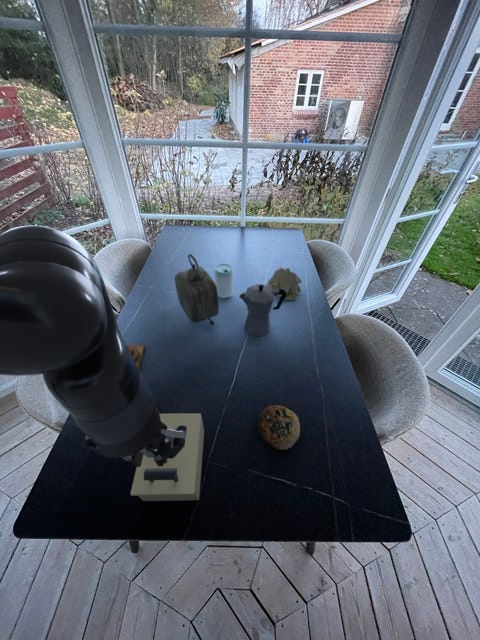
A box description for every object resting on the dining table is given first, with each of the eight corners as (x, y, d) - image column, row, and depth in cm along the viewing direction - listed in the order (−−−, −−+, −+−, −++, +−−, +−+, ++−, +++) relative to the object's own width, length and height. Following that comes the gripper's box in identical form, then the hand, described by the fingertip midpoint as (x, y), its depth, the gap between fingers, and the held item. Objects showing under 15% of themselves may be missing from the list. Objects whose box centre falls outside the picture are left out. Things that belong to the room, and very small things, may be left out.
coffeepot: (241, 339, 88) (242, 298, 75) (235, 319, 94) (236, 278, 81) (285, 333, 90) (294, 292, 77) (277, 314, 96) (284, 273, 84)
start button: (131, 359, 77) (130, 356, 76) (119, 359, 77) (117, 356, 76) (134, 350, 80) (133, 346, 78) (122, 350, 80) (121, 346, 78)
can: (235, 290, 106) (236, 265, 97) (228, 301, 101) (228, 275, 93) (219, 286, 107) (218, 260, 99) (212, 296, 103) (210, 270, 94)
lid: (194, 494, 49) (191, 487, 45) (131, 495, 49) (122, 488, 45) (201, 414, 60) (199, 403, 56) (149, 415, 60) (144, 403, 56)
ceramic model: (306, 290, 107) (311, 269, 100) (291, 304, 101) (296, 283, 94) (276, 276, 113) (279, 256, 106) (261, 289, 107) (263, 268, 100)
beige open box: (198, 500, 56) (194, 489, 50) (143, 501, 56) (132, 490, 49) (204, 430, 66) (201, 415, 60) (157, 431, 66) (149, 415, 60)
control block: (137, 375, 77) (134, 368, 75) (113, 375, 77) (109, 368, 74) (145, 348, 84) (142, 341, 82) (123, 348, 84) (120, 341, 82)
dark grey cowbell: (219, 326, 92) (216, 264, 74) (195, 335, 88) (186, 273, 71) (202, 302, 100) (195, 241, 83) (179, 310, 97) (167, 249, 79)
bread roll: (249, 416, 69) (252, 407, 65) (284, 403, 73) (290, 394, 70) (269, 459, 62) (274, 451, 59) (307, 442, 66) (314, 433, 63)
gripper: (36, 444, 27) (97, 488, 39) (176, 442, 27) (193, 486, 39) (69, 380, 32) (114, 436, 44) (185, 379, 33) (198, 435, 45)
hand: (151, 459), depth 42 cm, fingers open, 3 cm apart
